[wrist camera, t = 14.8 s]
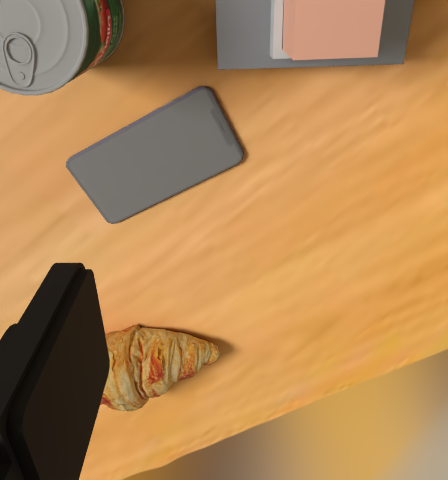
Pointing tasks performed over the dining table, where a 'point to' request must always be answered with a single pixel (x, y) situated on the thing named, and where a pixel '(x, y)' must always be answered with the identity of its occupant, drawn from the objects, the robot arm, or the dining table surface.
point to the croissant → (150, 364)
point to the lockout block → (332, 28)
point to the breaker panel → (271, 36)
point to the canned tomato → (55, 41)
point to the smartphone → (157, 156)
